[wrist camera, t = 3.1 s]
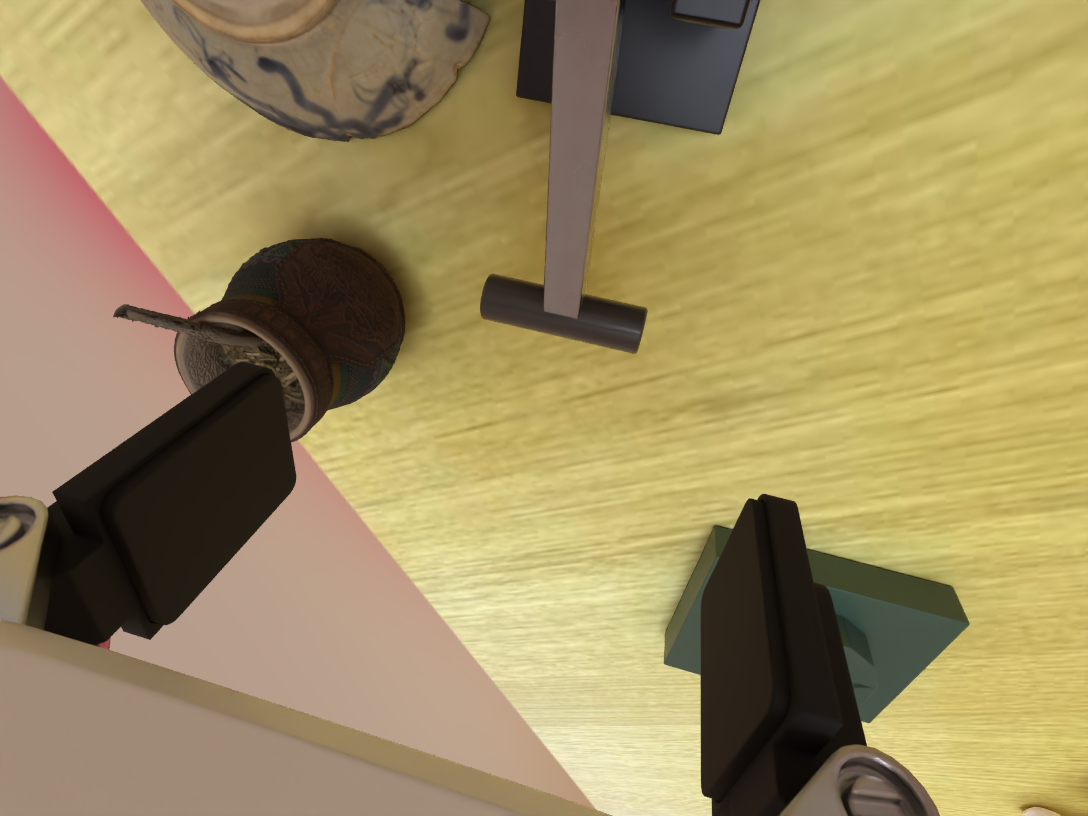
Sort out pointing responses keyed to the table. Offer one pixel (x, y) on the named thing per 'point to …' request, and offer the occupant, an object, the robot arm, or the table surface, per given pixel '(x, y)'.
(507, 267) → the table surface
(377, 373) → the mate gourd
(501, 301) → the lever
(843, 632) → the block
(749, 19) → the lever bracket
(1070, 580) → the table surface
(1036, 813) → the rabbit figurine
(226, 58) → the decorative bowl
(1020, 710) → the table surface
